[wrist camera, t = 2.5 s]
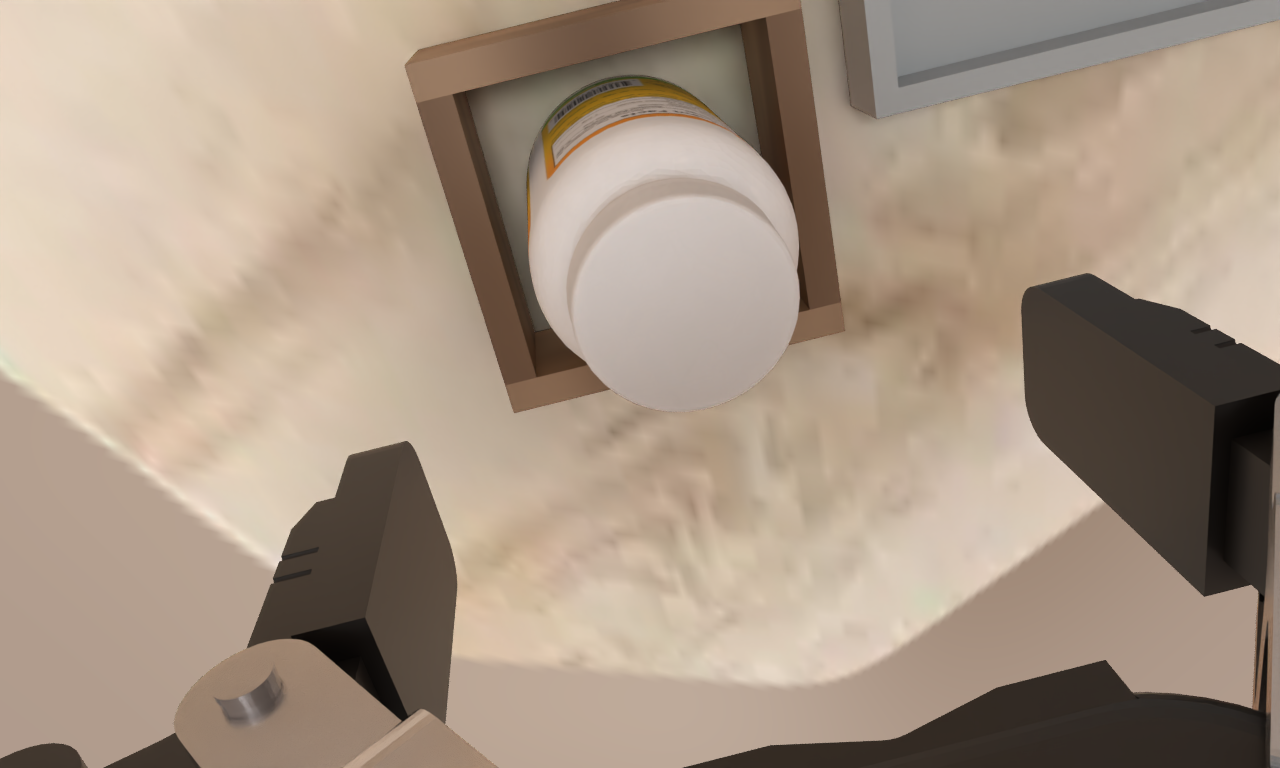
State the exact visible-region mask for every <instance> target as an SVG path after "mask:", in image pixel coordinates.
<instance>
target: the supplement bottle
mask: <svg viewBox="0 0 1280 768" xmlns="http://www.w3.org/2000/svg"><path fill="white" fill-rule="evenodd" d="M527 214H528V255H529V266H530V272H531V277H532V283H533V286H534V290H535V294H536V297H537V300H538V303H539V305H540V308H541V310H542V312H543V314H544V316H545V318H546V319H547V321H548V323H549V324H550V326H551V327H552V329H553V330H554V332H555V333H556V334H557V336H558V337H559V338H560V339H561V340H562V342H563V343H564V344H565V345H566V346H567V347H568V348H569V349H570V350H571V351H573V352H574V353H575V354H576V355H578V356H579V357H580V358H582V359H583V360H584V361H586V363H587V364H588V366H589V367H590V369H591V370H592V372H593V373H594V374H595V375H596V376H597V377H598V378H599V379H600V380H601V381H602V382H603V383H604V384H605V385H606V386H607V387H608V388H610V389H611V390H612V391H614V392H615V393H616V394H618V395H620V396H621V397H623V398H625V399H627V400H629V401H631V402H633V403H635V404H637V405H640V406H644V407H647V408H650V409H654V410H660V411H666V412H691V411H698V410H704V409H708V408H712V407H715V406H718V405H721V404H723V403H726V402H728V401H731V400H733V399H734V398H736V397H738V396H740V395H742V394H743V393H745V392H746V391H748V390H749V389H751V388H752V387H754V386H755V385H756V384H757V383H759V382H760V381H761V380H762V379H763V378H764V377H765V376H766V375H767V374H768V373H769V372H770V371H771V370H772V369H773V367H774V366H775V365H776V364H777V362H778V361H779V359H780V358H781V356H782V355H783V353H784V352H785V350H786V348H787V346H788V344H789V342H790V340H791V337H792V335H793V332H794V329H795V326H796V322H797V318H798V312H799V302H800V291H799V279H798V274H797V266H798V256H799V236H798V228H797V222H796V217H795V213H794V210H793V207H792V204H791V201H790V199H789V197H788V195H787V192H786V190H785V188H784V186H783V184H782V183H781V181H780V180H779V178H778V176H777V175H776V174H775V172H774V171H773V170H772V168H771V167H770V166H769V164H768V163H767V162H766V161H765V160H764V159H763V158H762V157H761V156H760V155H759V154H758V153H757V152H756V151H755V150H754V149H753V148H752V147H751V146H750V145H749V144H748V143H747V142H745V141H744V140H743V139H742V138H741V137H740V136H739V135H737V134H736V133H735V132H734V131H733V130H732V129H731V128H730V127H729V126H727V125H726V124H725V123H724V122H723V121H722V120H721V119H720V118H719V117H718V116H717V115H715V114H714V113H713V112H712V111H711V110H710V109H709V108H708V107H707V106H706V105H705V104H703V103H702V102H701V101H700V100H699V99H697V98H696V97H694V96H693V95H692V94H690V93H689V92H687V91H686V90H684V89H682V88H680V87H679V86H677V85H675V84H673V83H670V82H668V81H665V80H662V79H658V78H654V77H649V76H633V75H628V76H617V77H612V78H607V79H603V80H600V81H597V82H594V83H592V84H589V85H587V86H585V87H583V88H581V89H580V90H578V91H576V92H575V93H573V94H572V95H571V96H569V97H568V98H567V99H566V100H564V101H563V102H562V103H561V104H560V105H559V106H558V107H557V108H556V109H555V110H554V111H553V112H552V114H551V115H550V116H549V117H548V119H547V120H546V121H545V123H544V124H543V126H542V128H541V130H540V131H539V133H538V135H537V137H536V139H535V142H534V145H533V148H532V151H531V154H530V158H529V164H528V171H527Z"/></svg>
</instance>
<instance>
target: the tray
mask: <svg viewBox="0 0 1280 768" xmlns="http://www.w3.org/2000/svg"><path fill="white" fill-rule="evenodd" d="M839 8H840V17H841V25H842V33H843V42H844V50H845V59H846V67H847V76H848V84H849V93H850V101H851V106H853V107H855V108H857V109H858V110H860V111H862V112H864V113H866V114H868V115H870V116H872V117H874V118H876V119H879V118H883V117H887V116H891V115H895V114H899V113H903V112H907V111H911V110H915V109H919V108H924V107H928V106H932V105H936V104H940V103H944V102H948V101H952V100H956V99H960V98H964V97H968V96H972V95H976V94H980V93H984V92H988V91H992V90H996V89H1001V88H1005V87H1009V86H1013V85H1017V84H1021V83H1025V82H1029V81H1033V80H1037V79H1041V78H1045V77H1049V76H1053V75H1057V74H1061V73H1065V72H1069V71H1073V70H1078V69H1082V68H1086V67H1090V66H1094V65H1098V64H1102V63H1106V62H1110V61H1114V60H1118V59H1122V58H1126V57H1130V56H1134V55H1138V54H1142V53H1146V52H1150V51H1155V50H1159V49H1163V48H1167V47H1171V46H1175V45H1179V44H1183V43H1187V42H1191V41H1195V40H1199V39H1203V38H1207V37H1211V36H1215V35H1219V34H1223V33H1227V32H1232V31H1236V30H1240V29H1244V28H1248V27H1252V26H1256V25H1260V24H1264V23H1268V22H1272V21H1276V20H1280V0H839Z"/></svg>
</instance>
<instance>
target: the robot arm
mask: <svg viewBox="0 0 1280 768" xmlns="http://www.w3.org/2000/svg"><path fill="white" fill-rule="evenodd" d="M1021 314H1022V337H1023V361H1024V384H1025V401H1026V407H1027V411H1028V414H1029V418H1030V421H1031V423H1032V426H1033V428H1034V430H1035V432H1036V433H1037V435H1038V437H1039V438H1040V440H1041V441H1042V442H1043V443H1044V444H1045V445H1046V446H1047V447H1048V448H1049V449H1050V450H1051V451H1052V452H1053V453H1054V454H1055V455H1056V456H1057V457H1058V458H1059V459H1060V460H1061V461H1063V462H1064V463H1065V464H1066V465H1067V466H1068V467H1069V468H1070V469H1071V470H1072V471H1073V472H1074V473H1075V474H1076V475H1077V476H1078V477H1079V478H1080V479H1081V480H1082V481H1083V482H1085V483H1086V484H1087V485H1088V486H1089V487H1090V488H1091V489H1092V490H1093V491H1094V492H1095V493H1096V494H1097V495H1098V496H1099V497H1100V498H1101V499H1102V500H1103V501H1104V502H1105V503H1107V504H1108V505H1109V506H1110V507H1111V508H1112V509H1113V510H1114V511H1115V512H1116V513H1117V514H1118V515H1119V516H1120V517H1121V518H1122V519H1123V520H1124V521H1125V522H1126V523H1127V524H1129V525H1130V526H1131V527H1132V528H1133V529H1134V530H1135V531H1136V532H1137V533H1138V534H1139V535H1140V536H1141V537H1142V538H1143V539H1144V540H1145V541H1146V542H1147V543H1148V544H1149V545H1151V546H1152V547H1153V548H1154V549H1155V550H1156V551H1157V552H1158V553H1159V554H1160V555H1161V556H1162V557H1163V558H1164V559H1165V560H1166V561H1167V562H1168V563H1169V564H1170V565H1172V566H1173V567H1174V568H1175V569H1176V570H1177V571H1178V572H1179V573H1180V574H1181V575H1182V576H1183V577H1184V578H1185V579H1186V580H1187V581H1189V583H1190V584H1191V585H1192V586H1193V587H1195V588H1196V589H1197V590H1198V591H1199V592H1200V593H1201V594H1202V595H1203V596H1204V597H1205V596H1209V595H1213V594H1217V593H1221V592H1225V591H1228V590H1233V589H1237V588H1240V587H1244V586H1248V585H1252V586H1253V587H1254V588H1256V589H1257V590H1258V601H1257V613H1256V631H1255V654H1254V655H1255V656H1254V678H1253V701H1252V702H1253V703H1252V709H1251V708H1248V707H1244V706H1241V705H1238V704H1233V703H1228V702H1224V701H1219V700H1215V699H1210V698H1205V697H1197V696H1189V695H1182V694H1172V693H1152V692H1138V693H1137V692H1136V693H1132V692H1131V691H1130V689H1129V688H1128V687H1127V686H1126V684H1125V683H1124V682H1123V681H1122V680H1121V678H1120V677H1119V676H1118V675H1117V673H1116V672H1115V671H1114V670H1113V669H1112V667H1111V666H1110V665H1109V664H1108V663H1107V661H1106V660H1104V661H1099V662H1096V663H1092V664H1088V665H1084V666H1080V667H1076V668H1072V669H1068V670H1064V671H1060V672H1056V673H1052V674H1049V675H1045V676H1041V677H1037V678H1033V679H1029V680H1025V681H1021V682H1017V683H1013V684H1009V685H1005V686H1002V687H998V688H995V689H993V690H991V691H990V692H987V693H986V694H984V695H982V696H980V697H978V698H976V699H974V700H972V701H970V702H968V703H966V704H964V705H962V706H960V707H958V708H956V709H954V710H953V711H951V712H949V713H947V714H945V715H943V716H941V717H939V718H937V719H935V720H933V721H931V722H929V723H927V724H925V725H923V726H922V727H920V728H918V729H916V730H914V731H912V732H910V733H908V734H906V735H904V736H901V737H899V738H896V739H891V740H883V741H863V742H839V743H815V744H792V745H770V746H767V747H762V748H758V749H755V750H751V751H747V752H743V753H739V754H735V755H731V756H727V757H723V758H719V759H715V760H712V761H708V762H704V763H700V764H696V765H692V766H688V767H684V768H1280V364H1278V363H1276V362H1274V361H1273V360H1271V359H1269V358H1267V357H1266V356H1264V355H1262V354H1260V353H1258V352H1257V351H1255V350H1253V349H1251V348H1249V347H1248V346H1246V345H1244V344H1242V343H1239V344H1236V343H1235V339H1233V338H1231V337H1230V336H1228V335H1226V334H1224V333H1222V332H1221V331H1219V330H1217V329H1214V330H1211V328H1210V325H1208V324H1206V323H1204V322H1203V321H1201V320H1199V319H1197V318H1196V317H1194V316H1192V315H1190V314H1188V313H1187V312H1185V311H1183V310H1181V309H1178V308H1174V307H1170V306H1166V305H1162V304H1158V303H1154V302H1150V301H1146V300H1142V299H1134V298H1132V297H1130V296H1129V295H1127V294H1125V293H1124V292H1122V291H1120V290H1118V289H1117V288H1115V287H1113V286H1112V285H1110V284H1108V283H1106V282H1105V281H1103V280H1101V279H1100V278H1098V277H1096V276H1094V275H1092V274H1089V273H1085V274H1081V275H1077V276H1073V277H1069V278H1065V279H1061V280H1057V281H1053V282H1049V283H1045V284H1041V285H1037V286H1033V287H1029V288H1028V289H1027V290H1026V291H1025V293H1024V295H1023V299H1022V306H1021ZM281 557H282V561H280V562H279V564H278V567H277V569H276V572H275V575H274V577H273V580H274V584H271V585H270V588H269V590H268V593H267V596H266V599H265V601H264V604H263V606H262V609H261V612H260V614H259V617H258V620H257V622H256V625H255V628H254V630H253V633H252V636H251V638H250V641H249V644H248V646H247V649H245V650H243V651H240V652H238V653H236V654H234V655H232V656H231V657H229V658H227V659H225V660H224V661H222V662H221V663H219V664H218V665H216V666H215V667H213V668H212V669H211V670H210V671H208V672H207V673H206V674H205V675H204V676H202V677H201V678H200V679H199V680H198V681H197V682H196V683H195V684H194V685H193V686H192V687H191V689H190V690H189V691H188V692H187V694H186V695H185V696H184V698H183V700H182V701H181V703H180V705H179V706H178V709H177V712H176V714H175V719H174V729H175V733H174V734H172V735H170V736H169V737H166V738H165V739H163V740H161V741H159V742H157V743H155V744H153V745H150V746H148V747H147V748H144V749H142V750H140V751H138V752H136V753H134V754H131V755H129V756H127V757H125V758H123V759H121V760H119V761H117V762H115V763H113V764H110V765H108V766H106V767H104V768H498V767H497V766H496V765H494V764H493V763H492V762H491V761H490V760H488V759H487V758H486V757H485V756H483V755H482V754H481V753H480V752H478V751H477V750H476V749H475V748H474V747H472V746H471V745H470V744H469V743H467V742H466V741H465V740H464V739H463V738H461V737H460V736H459V735H458V734H456V733H455V732H454V731H453V730H451V729H450V728H449V727H448V726H447V725H445V721H446V710H447V698H448V686H449V675H450V664H451V653H452V642H453V630H454V619H455V607H456V596H457V575H456V568H455V562H454V557H453V553H452V549H451V546H450V543H449V540H448V537H447V534H446V531H445V529H444V526H443V523H442V521H441V518H440V515H439V512H438V510H437V507H436V504H435V502H434V499H433V496H432V493H431V491H430V488H429V485H428V483H427V480H426V477H425V475H424V472H423V469H422V466H421V464H420V461H419V459H418V456H417V454H416V452H415V450H414V448H413V446H412V445H411V444H410V443H409V442H408V441H405V442H401V443H397V444H393V445H389V446H385V447H381V448H377V449H373V450H369V451H364V452H360V453H356V454H352V455H350V456H349V457H348V459H347V462H346V465H345V468H344V471H343V474H342V477H341V480H340V483H339V486H338V490H337V493H336V496H335V498H332V499H328V500H324V501H320V502H316V503H315V504H314V506H313V507H312V508H311V509H310V510H309V511H308V512H307V513H306V514H305V515H304V516H303V518H302V519H301V520H300V521H299V522H298V523H297V524H296V525H295V526H294V527H293V528H292V529H291V532H290V535H289V537H288V540H287V543H286V545H285V548H284V551H283V553H282V556H281ZM0 768H87V766H86V765H85V763H84V761H83V760H82V759H81V757H80V755H79V754H78V752H77V751H76V750H75V749H73V748H72V747H70V746H68V745H64V744H55V743H51V744H41V745H37V746H33V747H29V748H26V749H23V750H20V751H17V752H14V753H12V754H10V755H8V756H5V757H3V758H1V759H0Z"/></svg>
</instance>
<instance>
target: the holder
mask: <svg viewBox="0 0 1280 768" xmlns="http://www.w3.org/2000/svg"><path fill="white" fill-rule="evenodd" d="M736 24H740V25H741V31H742V37H743V43H744V49H745V55H746V62H747V68H748V74H749V80H750V86H751V92H752V99H753V105H754V111H755V117H756V123H757V129H758V136H759V142H760V148H761V154H762V158H763V159H764V160H765V161H766V162H767V163H768V164H769V166H770V167H771V168H772V170H773V171H774V172H775V174H776V175H777V176H778V178H779V180H780V181H781V183H782V184H783V186H784V188H785V190H786V192H787V195H788V197H789V199H790V201H791V204H792V207H793V210H794V213H795V217H796V222H797V228H798V236H799V256H798V266H797V274H798V279H799V291H800V302H799V312H798V318H797V322H796V326H795V329H794V332H793V335H792V337H791V340H790V342H789V344H788V345H791V344H795V343H799V342H803V341H807V340H811V339H815V338H819V337H823V336H827V335H831V334H835V333H839V332H843V331H845V328H844V321H843V313H842V306H841V298H840V291H839V283H838V276H837V269H836V261H835V254H834V246H833V239H832V231H831V224H830V216H829V209H828V202H827V194H826V187H825V179H824V172H823V164H822V157H821V150H820V142H819V135H818V127H817V120H816V112H815V105H814V97H813V90H812V83H811V75H810V68H809V60H808V53H807V45H806V38H805V30H804V23H803V16H802V8H801V1H800V0H620V1H616V2H611V3H607V4H603V5H599V6H595V7H591V8H587V9H583V10H579V11H575V12H571V13H567V14H563V15H559V16H554V17H550V18H546V19H542V20H538V21H534V22H530V23H526V24H522V25H518V26H514V27H510V28H506V29H501V30H497V31H493V32H489V33H485V34H481V35H477V36H473V37H469V38H465V39H461V40H457V41H453V42H448V43H444V44H440V45H436V46H432V47H428V48H424V49H420V50H418V51H417V52H416V53H415V54H414V55H413V56H412V57H411V59H410V60H409V61H408V62H407V63H406V64H405V68H406V72H407V75H408V78H409V81H410V84H411V88H412V91H413V94H414V97H415V100H416V103H417V107H418V110H419V113H420V116H421V119H422V122H423V126H424V129H425V132H426V135H427V138H428V142H429V145H430V148H431V151H432V154H433V157H434V161H435V164H436V167H437V170H438V173H439V176H440V180H441V183H442V186H443V189H444V192H445V195H446V199H447V202H448V205H449V208H450V211H451V215H452V218H453V221H454V224H455V227H456V230H457V234H458V237H459V240H460V243H461V246H462V249H463V253H464V256H465V259H466V262H467V265H468V269H469V272H470V275H471V278H472V281H473V284H474V288H475V291H476V294H477V297H478V300H479V303H480V307H481V310H482V313H483V316H484V319H485V323H486V326H487V329H488V332H489V335H490V338H491V342H492V345H493V348H494V351H495V354H496V357H497V361H498V364H499V367H500V370H501V373H502V376H503V380H504V383H505V386H506V389H507V392H508V396H509V399H510V402H511V405H512V408H513V411H514V413H517V412H521V411H525V410H529V409H533V408H537V407H541V406H545V405H549V404H553V403H557V402H561V401H565V400H569V399H573V398H577V397H581V396H585V395H589V394H593V393H597V392H601V391H605V390H609V389H610V388H608V387H607V386H606V385H605V384H604V383H603V382H602V381H601V380H600V379H599V378H598V377H597V376H596V375H595V374H594V373H593V372H592V370H591V369H590V367H589V366H588V364H587V363H586V361H584V360H583V359H582V358H580V357H579V356H578V355H576V354H575V353H574V352H573V351H571V350H570V349H569V348H568V347H567V346H566V345H565V344H564V343H563V342H562V340H561V339H560V338H559V337H558V336H557V334H556V333H555V332H554V330H553V329H552V328H551V329H547V330H543V331H539V332H535V331H534V327H533V324H532V320H531V317H530V314H529V310H528V307H527V303H526V300H525V296H524V293H523V289H522V286H521V283H520V279H519V276H518V272H517V269H516V265H515V262H514V259H513V255H512V252H511V248H510V245H509V241H508V238H507V235H506V231H505V228H504V224H503V221H502V217H501V214H500V211H499V207H498V204H497V200H496V197H495V193H494V190H493V187H492V183H491V180H490V176H489V173H488V169H487V166H486V163H485V159H484V156H483V152H482V149H481V145H480V142H479V139H478V135H477V132H476V128H475V125H474V121H473V118H472V114H471V111H470V108H469V104H468V101H467V97H466V94H465V91H467V90H471V89H475V88H480V87H484V86H488V85H492V84H496V83H500V82H504V81H508V80H512V79H516V78H520V77H524V76H528V75H532V74H536V73H541V72H545V71H549V70H553V69H557V68H561V67H565V66H569V65H573V64H577V63H581V62H585V61H589V60H593V59H598V58H602V57H606V56H610V55H614V54H618V53H622V52H626V51H630V50H634V49H638V48H642V47H646V46H650V45H654V44H659V43H663V42H667V41H671V40H675V39H679V38H683V37H687V36H691V35H695V34H699V33H703V32H707V31H711V30H716V29H720V28H724V27H728V26H732V25H736Z"/></svg>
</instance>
